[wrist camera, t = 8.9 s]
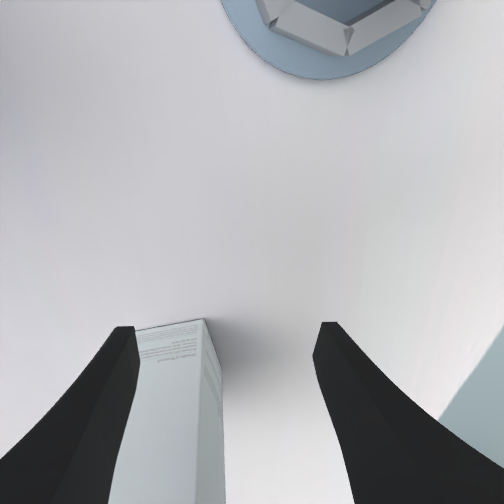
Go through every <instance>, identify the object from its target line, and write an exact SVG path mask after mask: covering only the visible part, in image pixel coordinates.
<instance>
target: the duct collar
mask: <svg viewBox="0 0 504 504" xmlns="http://www.w3.org/2000/svg"><path fill="white" fill-rule="evenodd" d="M221 2H222V4H223V6H224V8H225V10H226V12H227V14H228V17H229V19H230V20H231V22H232V24H233V25H234V27H235V28H236V30H237V31H238V33H239V34H240V36H241V37H242V38H243V39H244V41H245V42H246V43H247V44H248V45H249V47H250V48H251V49H252V50H253V51H255V52H256V53H257V54H258V55H259V56H260V57H261V58H262V59H264V60H265V61H267V62H268V63H270V64H271V65H272V66H274V67H276V68H278V69H280V70H282V71H284V72H286V73H289V74H293V75H296V76H299V77H303V78H309V79H316V80H320V79H336V78H342V77H346V76H349V75H353V74H356V73H359V72H361V71H363V70H365V69H367V68H369V67H371V66H373V65H375V64H376V63H378V62H379V61H381V60H383V59H384V58H386V57H387V56H388V55H389V54H391V53H392V52H393V51H394V50H396V49H397V48H398V47H399V46H400V45H401V44H402V43H403V42H404V41H405V40H406V39H407V38H408V37H409V36H410V35H411V34H412V33H413V32H414V31H415V29H416V28H417V27H418V26H419V25H420V23H421V22H422V21H423V20H424V18H425V17H426V15H427V14H428V12H429V11H430V9H431V8H432V6H433V5H434V3H435V2H436V0H221Z"/></svg>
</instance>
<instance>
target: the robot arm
mask: <svg viewBox="0 0 504 504" xmlns="http://www.w3.org/2000/svg"><path fill="white" fill-rule="evenodd" d="M313 361H314V366H315V370H316V375H317V379H318V383H319V386H320V389H321V392H322V394H323V397H324V400H325V403H326V406H327V409H328V412H329V414H330V417H331V420H332V423H333V426H334V429H335V432H336V434H337V437H338V440H339V444H340V447H341V450H342V454H343V458H344V462H345V466H346V470H347V473H348V477H349V482H350V486H351V490H352V494H353V499H354V503H355V504H504V468H502V467H501V466H499V465H497V464H496V463H494V462H493V461H491V460H490V459H489V458H487V457H486V456H484V455H483V454H481V453H479V452H478V451H477V450H475V449H474V448H472V447H471V446H470V445H468V444H467V443H465V442H464V441H463V440H461V439H460V438H459V437H457V436H456V435H455V434H453V433H452V432H451V431H449V430H448V429H447V428H445V427H444V426H443V425H441V424H440V423H439V422H438V421H436V420H435V419H434V418H433V417H431V416H430V415H429V414H428V413H426V412H425V411H424V410H423V409H422V408H421V407H419V406H418V405H417V404H416V403H415V402H414V401H412V400H411V399H410V398H409V397H408V396H407V395H406V394H405V393H404V392H402V391H401V390H400V389H399V388H398V387H397V386H396V385H395V384H394V383H393V382H392V381H391V380H390V379H389V378H388V377H387V376H386V375H385V374H384V373H383V372H382V371H381V370H380V369H379V368H378V367H377V366H376V365H375V364H374V363H373V362H372V361H371V360H370V358H369V357H368V356H367V355H366V354H365V353H364V352H363V351H362V350H361V349H360V348H359V346H358V345H357V344H356V343H355V342H354V341H353V340H352V339H351V337H350V336H349V335H348V334H347V333H346V332H345V331H344V329H343V328H342V327H341V326H340V325H339V324H338V323H337V322H322V324H321V328H320V331H319V335H318V338H317V342H316V345H315V349H314V352H313ZM140 363H141V362H140V356H139V350H138V345H137V339H136V334H135V328H134V326H122V327H116V328H115V329H114V330H113V331H112V333H111V334H110V336H109V337H108V338H107V340H106V341H105V343H104V344H103V345H102V347H101V348H100V350H99V351H98V352H97V354H96V355H95V356H94V358H93V359H92V360H91V362H90V363H89V364H88V365H87V367H86V368H85V369H84V370H83V372H82V373H81V374H80V375H79V377H78V378H77V379H76V380H75V382H74V383H73V384H72V385H71V386H70V387H69V389H68V390H67V391H66V392H65V393H64V394H63V396H62V397H61V398H60V399H59V400H58V401H57V402H56V404H55V405H54V406H53V407H52V408H51V409H50V410H49V411H48V412H47V413H46V415H45V416H44V417H43V418H42V419H41V420H40V421H39V422H38V423H37V424H36V425H35V426H34V427H33V428H32V429H31V430H30V431H29V432H28V433H27V434H26V435H25V436H24V437H23V438H22V439H21V440H20V441H19V442H18V443H17V444H16V445H15V446H14V447H13V448H12V449H11V450H9V451H8V452H7V453H6V454H5V455H4V456H3V457H2V458H1V459H0V504H108V501H109V496H110V491H111V485H112V480H113V475H114V470H115V465H116V461H117V457H118V453H119V450H120V446H121V442H122V439H123V435H124V432H125V428H126V425H127V421H128V418H129V414H130V410H131V407H132V403H133V400H134V396H135V392H136V388H137V382H138V376H139V370H140Z"/></svg>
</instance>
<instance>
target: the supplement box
mask: <svg viewBox="0 0 504 504" xmlns="http://www.w3.org/2000/svg"><path fill="white" fill-rule="evenodd" d="M135 334H136V339H137V345H138V350H139V356H140V362H141V363H140V370H139V376H138V382H137V388H136V392H135V396H134V400H133V403H132V407H131V410H130V414H129V418H128V421H127V425H126V428H125V432H124V435H123V439H122V442H121V446H120V450H119V453H118V457H117V461H116V465H115V470H114V475H113V480H112V485H111V491H110V496H109V501H108V504H226V495H225V464H224V431H223V400H222V370H221V367H220V363H219V360H218V358H217V355H216V352H215V349H214V346H213V343H212V341H211V338H210V335H209V332H208V329H207V326H206V324H205V321H204V320H203V319H201V320H195V321H189V322H184V323H178V324H173V325H167V326H162V327H156V328H151V329H146V330H140V331H135Z"/></svg>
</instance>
